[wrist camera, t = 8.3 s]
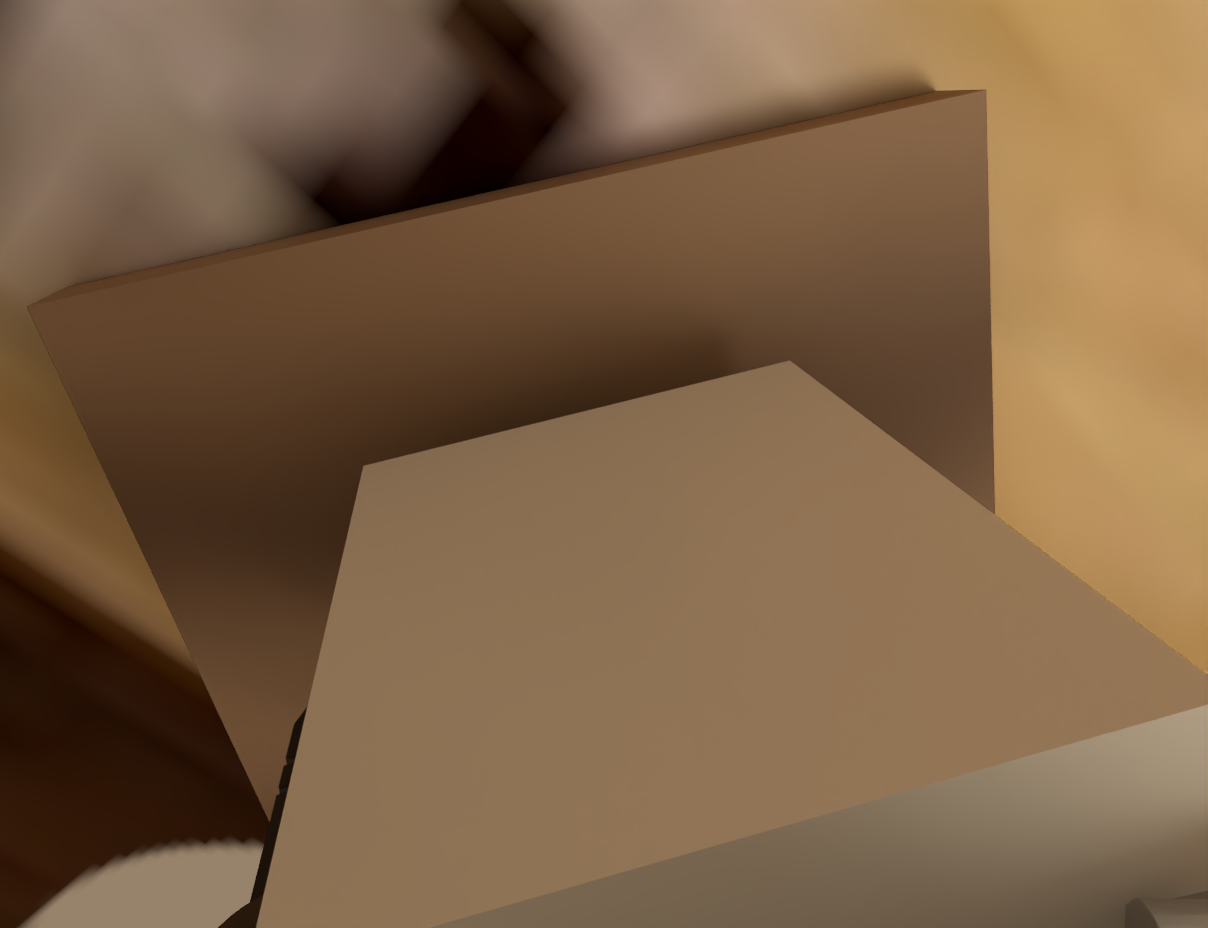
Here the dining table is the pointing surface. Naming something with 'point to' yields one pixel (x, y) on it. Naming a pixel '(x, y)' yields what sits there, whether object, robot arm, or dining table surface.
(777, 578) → the cream block
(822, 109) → the dining table surface
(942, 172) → the stand board
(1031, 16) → the dining table surface
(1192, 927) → the robot arm
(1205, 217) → the dining table surface
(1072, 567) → the dining table surface
